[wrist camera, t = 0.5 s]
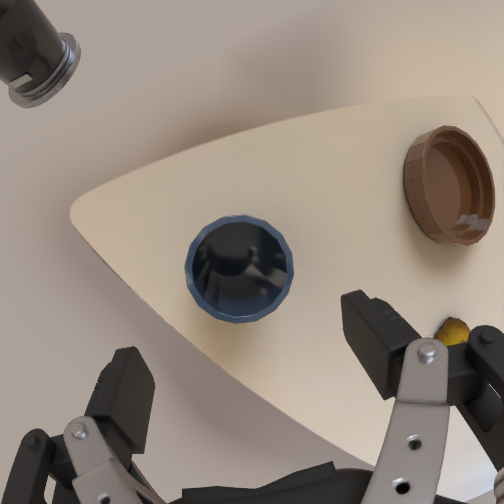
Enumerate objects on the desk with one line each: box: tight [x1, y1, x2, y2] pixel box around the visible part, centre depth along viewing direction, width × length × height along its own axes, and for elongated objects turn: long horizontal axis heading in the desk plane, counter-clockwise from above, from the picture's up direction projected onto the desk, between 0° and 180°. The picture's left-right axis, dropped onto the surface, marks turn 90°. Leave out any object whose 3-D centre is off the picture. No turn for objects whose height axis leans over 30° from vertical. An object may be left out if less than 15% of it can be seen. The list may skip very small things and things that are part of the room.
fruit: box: [435, 317, 470, 346], centre depth 30 cm, size 8×8×4 cm
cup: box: [185, 215, 294, 324], centre depth 23 cm, size 7×7×10 cm
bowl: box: [405, 126, 495, 246], centre depth 28 cm, size 14×14×4 cm
